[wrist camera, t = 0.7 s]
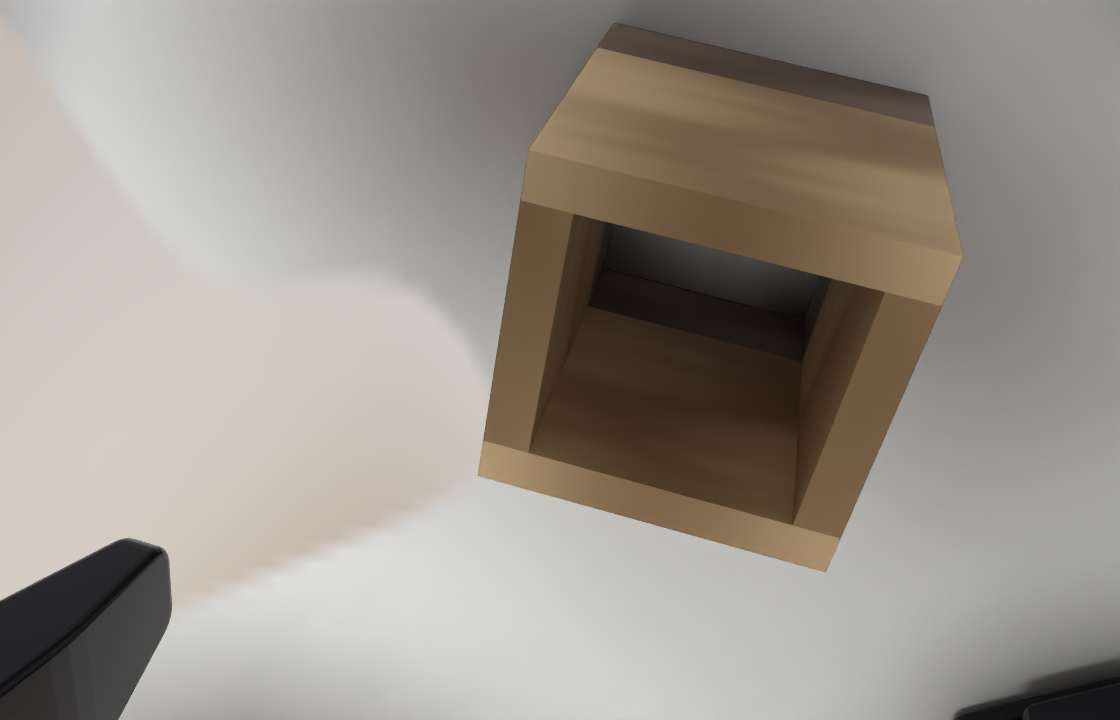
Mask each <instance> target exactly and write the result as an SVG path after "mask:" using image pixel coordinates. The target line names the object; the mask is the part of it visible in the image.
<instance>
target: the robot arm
mask: <svg viewBox="0 0 1120 720" xmlns="http://www.w3.org/2000/svg"><path fill="white" fill-rule="evenodd" d="M171 611H172V597H171V582H170V567H169V558H168V554H167V553H166V551H165V550H164V549H163V548H161V547H159V546H155V545H152V544H149V543H146V542H142V541H139V540H136V539H131V538H125V539H121V540H118V541H115V542H113V543H111V544H109V545H107V546H105V547H103V548H102V549H100V550H98V551H96V552H94V553H92V554H90V555H88V556H86V557H84V558H82V559H80V560H78V561H76V562H74V563H72V564H71V565H69V566H67V567H65V568H63V569H61V570H59V571H57V572H55V573H53V574H51V575H49V576H47V577H45V578H43V579H42V580H39V581H37V582H36V583H34V584H32V585H30V586H28V587H26V588H24V589H22V590H20V591H18V592H16V593H14V594H12V595H10V596H8V597H7V598H5V599H3V600H1V601H0V720H118V719H119V717H120V715H121V713H122V711H123V710H124V708H125V706H126V704H127V702H128V700H129V698H130V697H131V695H132V693H133V691H134V689H135V687H136V685H137V683H138V682H139V680H140V678H141V676H142V674H143V672H144V670H145V669H146V667H147V665H148V663H149V661H150V659H151V657H152V655H153V654H154V652H155V650H156V648H157V646H158V644H159V642H160V640H161V639H162V637H163V635H164V633H165V631H166V629H167V626H168V624H169V620H170V617H171ZM956 720H1120V677H1118V678H1114V679H1110V680H1106V681H1102V682H1098V683H1094V684H1089V685H1085V686H1081V687H1077V688H1073V689H1069V690H1065V691H1060V692H1056V693H1052V694H1048V695H1044V696H1040V697H1036V698H1031V699H1027V700H1023V701H1019V702H1015V703H1011V704H1007V705H1002V706H998V707H994V708H990V709H986V710H982V711H978V712H974V713H969V714H965V715H963V716H960V717H958V718H957V719H956Z"/></svg>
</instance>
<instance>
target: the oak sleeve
mask: <svg viewBox="0 0 1120 720" xmlns="http://www.w3.org/2000/svg"><path fill="white" fill-rule="evenodd" d="M613 224H617V225H621V226H625V227H629V228H633V229H637V230H641V231H645V232H649V233H653V234H657V235H661V236H665V237H669V238H673V239H677V240H681V241H685V242H688V243H692V244H696V245H700V246H704V247H708V248H712V249H716V250H720V251H724V252H728V253H732V254H736V255H740V256H744V257H748V258H752V259H756V260H760V261H764V262H768V263H772V264H776V265H780V266H784V267H788V268H792V269H796V270H800V271H804V272H808V273H812V274H816V275H820V276H819V279H818V282H817V285H816V288H815V291H814V294H813V296H812V299H811V302H810V305H809V308H808V311H807V314H806V316H805V319H804V320H800V319H796V318H792V317H788V316H785V315H781V314H777V313H773V312H769V311H765V310H761V309H757V308H753V307H749V306H745V305H742V304H738V303H734V302H730V301H726V300H722V299H718V298H714V297H710V296H706V295H702V294H698V293H695V292H691V291H687V290H683V289H679V288H675V287H671V286H667V285H663V284H659V283H655V282H652V281H648V280H644V279H640V278H636V277H632V276H628V275H624V274H620V273H616V272H612V271H608V270H605V269H603V267H604V262H605V258H606V253H607V248H608V244H609V239H610V234H611V230H612V225H613ZM962 259H963V253H962V248H961V244H960V239H959V235H958V230H957V226H956V221H955V217H954V212H953V207H952V203H951V198H950V194H949V189H948V185H947V180H946V176H945V171H944V167H943V162H942V157H941V153H940V148H939V144H938V139H937V135H936V130H935V126H934V121H933V117H932V112H931V107H930V103H929V98H928V96H926V95H922V94H917V93H913V92H909V91H905V90H900V89H896V88H892V87H887V86H883V85H879V84H874V83H870V82H866V81H862V80H857V79H853V78H849V77H844V76H840V75H836V74H831V73H827V72H823V71H819V70H814V69H810V68H806V67H801V66H797V65H793V64H788V63H784V62H780V61H776V60H771V59H767V58H763V57H758V56H754V55H750V54H745V53H741V52H737V51H733V50H728V49H724V48H720V47H715V46H711V45H707V44H702V43H698V42H694V41H690V40H685V39H681V38H677V37H672V36H668V35H664V34H659V33H655V32H651V31H647V30H642V29H638V28H634V27H629V26H625V25H621V24H616V23H614V24H613V25H612V27H611V28H610V30H609V31H608V32H607V34H606V35H605V37H604V38H603V40H602V41H601V43H600V44H599V46H598V47H597V49H596V50H595V52H594V53H593V55H592V56H591V58H590V59H589V61H588V62H587V64H586V65H585V67H584V68H583V69H582V71H581V72H580V74H579V75H578V77H577V78H576V80H575V81H574V83H573V84H572V86H571V87H570V89H569V90H568V92H567V93H566V95H565V96H564V98H563V99H562V101H561V102H560V104H559V105H558V106H557V108H556V109H555V111H554V112H553V114H552V115H551V117H550V118H549V120H548V121H547V123H546V124H545V126H544V127H543V129H542V130H541V132H540V133H539V135H538V136H537V138H536V139H535V141H534V142H533V143H532V145H531V146H530V148H529V149H528V155H527V162H526V168H525V174H524V181H523V187H522V194H521V200H520V207H519V213H518V220H517V226H516V233H515V239H514V245H513V252H512V258H511V265H510V271H509V278H508V284H507V291H506V297H505V304H504V310H503V316H502V323H501V329H500V336H499V342H498V349H497V355H496V362H495V368H494V375H493V381H492V387H491V394H490V400H489V407H488V413H487V420H486V426H485V433H484V439H483V446H482V452H481V458H480V465H479V471H478V476H481V477H484V478H488V479H492V480H495V481H499V482H502V483H506V484H510V485H513V486H517V487H520V488H524V489H528V490H531V491H535V492H538V493H542V494H546V495H549V496H553V497H556V498H560V499H564V500H567V501H571V502H574V503H578V504H582V505H585V506H589V507H592V508H596V509H600V510H603V511H607V512H610V513H614V514H618V515H621V516H625V517H628V518H632V519H636V520H639V521H643V522H646V523H650V524H654V525H657V526H661V527H664V528H668V529H672V530H675V531H679V532H682V533H686V534H690V535H693V536H697V537H700V538H704V539H708V540H711V541H715V542H718V543H722V544H726V545H729V546H733V547H736V548H740V549H744V550H747V551H751V552H754V553H758V554H761V555H765V556H769V557H772V558H776V559H779V560H783V561H787V562H790V563H794V564H797V565H801V566H805V567H808V568H812V569H815V570H819V571H823V572H826V571H827V568H828V566H829V564H830V561H831V559H832V557H833V554H834V552H835V550H836V548H837V545H838V543H839V541H840V538H841V536H842V534H843V532H844V529H845V527H846V525H847V522H848V520H849V518H850V515H851V513H852V511H853V509H854V506H855V504H856V502H857V499H858V497H859V495H860V493H861V490H862V488H863V486H864V483H865V481H866V479H867V477H868V474H869V472H870V470H871V467H872V465H873V463H874V460H875V458H876V456H877V454H878V451H879V449H880V447H881V444H882V442H883V440H884V438H885V435H886V433H887V431H888V428H889V426H890V424H891V421H892V419H893V417H894V415H895V412H896V410H897V408H898V405H899V403H900V401H901V399H902V396H903V394H904V392H905V389H906V387H907V385H908V383H909V380H910V378H911V376H912V373H913V371H914V369H915V366H916V364H917V362H918V360H919V357H920V355H921V353H922V350H923V348H924V346H925V344H926V341H927V339H928V337H929V334H930V332H931V330H932V327H933V325H934V323H935V321H936V318H937V316H938V314H939V311H940V309H941V307H942V305H943V302H944V300H945V298H946V295H947V293H948V291H949V288H950V286H951V284H952V282H953V279H954V277H955V275H956V272H957V270H958V268H959V266H960V263H961V261H962Z"/></svg>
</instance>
